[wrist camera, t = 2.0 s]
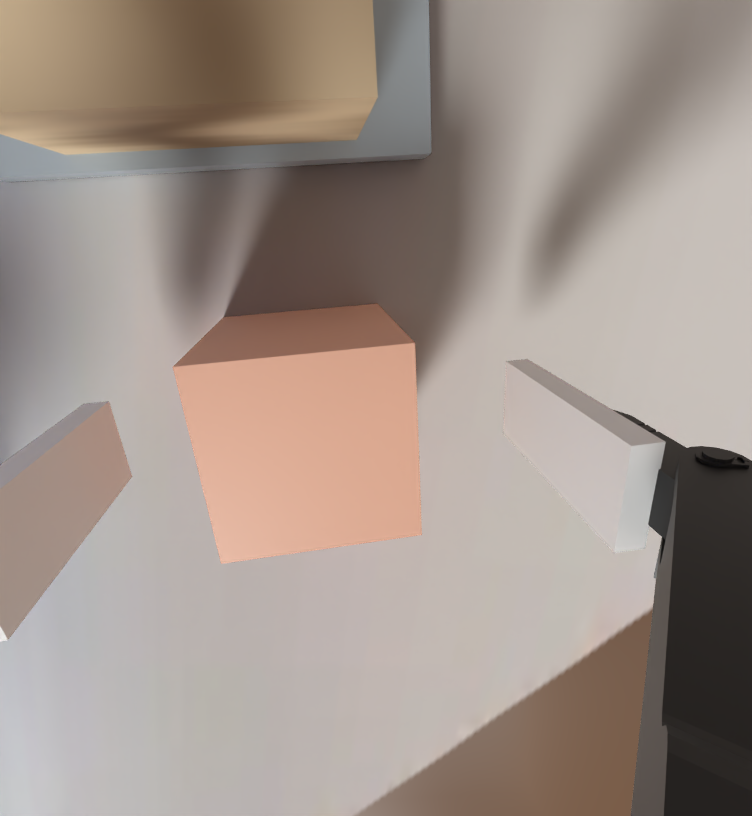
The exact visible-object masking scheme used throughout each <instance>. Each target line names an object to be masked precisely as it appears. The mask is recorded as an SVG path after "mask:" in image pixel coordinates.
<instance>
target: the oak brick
mask: <svg viewBox="0 0 752 816" xmlns="http://www.w3.org/2000/svg"><path fill="white" fill-rule="evenodd" d="M377 98H378V91H377V73H376V54H375V36H374V18H373V0H0V134H1V135H5V136H8V137H11V138H14V139H17V140H20V141H23V142H26V143H30V144H33V145H36V146H39V147H42V148H45V149H48V150H51V151H55V152H58V153H61V154H64V155H73V154H92V153H112V152H132V151H151V150H171V149H191V148H210V147H230V146H249V145H269V144H289V143H308V142H328V141H348V140H357V138H358V136H359V134H360V132H361V130H362V128H363V126H364V124H365V122H366V120H367V118H368V116H369V114H370V112H371V110H372V108H373V106H374V104H375V102H376V100H377Z"/></svg>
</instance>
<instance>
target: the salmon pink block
mask: <svg viewBox="0 0 752 816" xmlns="http://www.w3.org/2000/svg"><path fill="white" fill-rule="evenodd" d="M173 370H174V374H175V378H176V382H177V386H178V390H179V394H180V398H181V402H182V406H183V411H184V415H185V419H186V423H187V427H188V431H189V435H190V439H191V443H192V447H193V451H194V455H195V459H196V463H197V467H198V472H199V476H200V480H201V484H202V488H203V492H204V496H205V500H206V504H207V508H208V512H209V516H210V520H211V524H212V528H213V533H214V537H215V541H216V545H217V549H218V553H219V557H220V561H221V564H223V563H230V562H237V561H244V560H251V559H258V558H265V557H272V556H279V555H286V554H293V553H299V552H306V551H313V550H320V549H327V548H334V547H341V546H348V545H355V544H362V543H369V542H376V541H383V540H390V539H396V538H403V537H410V536H417V535H422V528H421V500H420V471H419V442H418V413H417V385H416V356H415V342H414V341H413V340H412V339H411V338H410V337H409V336H408V335H407V334H406V333H405V332H404V331H403V330H402V329H401V328H400V327H399V326H398V325H397V323H396V322H395V321H394V320H393V319H392V318H391V317H390V316H389V315H388V314H387V313H386V312H385V311H384V310H383V309H382V308H381V307H380V306H379V305H378V304H366V305H354V306H343V307H332V308H321V309H310V310H298V311H287V312H276V313H265V314H253V315H242V316H231V317H223V318H222V319H221V320H220V321H219V322H218V323H217V324H216V325H215V326H214V327H213V328H212V329H211V330H210V331H209V332H208V333H207V334H206V335H205V336H204V337H203V338H202V339H201V340H200V341H199V342H198V343H197V344H196V345H195V346H194V347H193V348H192V349H191V350H190V351H189V352H188V353H187V354H186V355H185V356H184V357H182V358H181V359H180V360H179V361H178V362H177V363H176V364H175V365H174V366H173Z"/></svg>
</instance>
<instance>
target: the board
mask: <svg viewBox="0 0 752 816" xmlns="http://www.w3.org/2000/svg"><path fill="white" fill-rule="evenodd" d="M373 18H374V36H375V54H376V73H377V91H378V98H377V100H376V102H375V104H374V106H373V108H372V110H371V112H370V114H369V116H368V118H367V120H366V122H365V124H364V126H363V128H362V130H361V132H360V134H359V136H358V138H357V140H348V141H328V142H308V143H289V144H269V145H249V146H230V147H210V148H191V149H171V150H151V151H132V152H112V153H92V154H73V155H64V154H61V153H58V152H55V151H51V150H48V149H45V148H42V147H39V146H36V145H33V144H30V143H26V142H23V141H20V140H17V139H14V138H11V137H8V136H5V135H1V134H0V181H5V182H19V181H37V180H54V179H72V178H90V177H108V176H126V175H144V174H161V173H179V172H197V171H215V170H233V169H251V168H268V167H286V166H304V165H322V164H340V163H358V162H375V161H393V160H411V159H424V158H425V157H427V156H428V155H430V154H431V153H432V152H431V95H430V38H429V0H373Z"/></svg>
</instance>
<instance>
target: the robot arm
mask: <svg viewBox="0 0 752 816" xmlns="http://www.w3.org/2000/svg"><path fill="white" fill-rule="evenodd" d="M503 434H504V435H505V436H506V437H507V438H508V440H509V441H510V442H511V443H512V444H513V445H514V446H515V447H516V448H517V449H518V450H519V451H520V452H521V454H522V455H523V456H524V457H525V458H526V459H527V460H528V461H529V462H530V463H531V464H532V465H533V466H534V468H535V469H536V470H537V471H538V472H539V473H540V474H541V475H542V476H543V477H544V478H545V479H546V480H547V482H548V483H549V484H550V485H551V486H552V487H553V488H554V489H555V490H556V491H557V492H558V493H559V494H560V496H561V497H562V498H563V499H564V500H565V501H566V502H567V503H568V504H569V505H570V506H571V507H572V508H573V510H574V511H575V512H576V513H577V514H578V515H579V516H580V517H581V518H582V519H583V520H584V521H585V522H586V524H587V525H588V526H589V527H590V528H591V529H592V530H593V531H594V532H595V533H596V534H597V535H598V537H599V538H600V539H601V540H602V541H603V542H604V543H605V544H606V545H607V546H608V547H609V548H610V549H611V551H612V552H613V553H618V552H625V551H632V550H639V549H645V546H646V541H647V536H648V531H649V526H650V527H652V528H653V529H654V530H655V531H656V532H657V533H658V534H659V535H661V536H662V540H661V545H660V549H659V554H658V559H657V564H656V569H655V573H654V578H656V585H655V595H654V604H653V613H652V623H651V632H650V641H649V651H648V660H647V670H646V679H645V688H644V697H643V707H642V716H641V725H640V734H639V744H638V753H637V762H636V772H635V781H634V790H633V800H632V809H631V816H752V461H751V460H749V459H747V458H746V457H744V456H742V455H740V454H737V453H734V452H732V451H728V450H724V449H720V448H714V447H704V446H698V447H689V448H686V447H684V446H682V445H681V444H679V443H677V442H676V441H674V440H672V439H670V438H669V437H667V436H665V435H664V434H662V433H660V432H656V430H655V429H653V428H651V427H650V426H648V425H645V423H643V422H641V421H639V420H638V419H636V418H634V417H633V416H631V415H628V414H624V413H621V412H618V411H615V410H612V409H610V408H608V407H607V406H605V405H603V404H602V403H600V402H598V401H597V400H595V399H593V398H592V397H590V396H588V395H587V394H585V393H583V392H582V391H580V390H578V389H577V388H575V387H573V386H572V385H570V384H568V383H567V382H565V381H563V380H562V379H560V378H558V377H557V376H555V375H553V374H552V373H550V372H548V371H547V370H545V369H543V368H541V367H540V366H538V365H536V364H535V363H533V362H531V361H530V360H528V359H524V360H514V361H506V376H505V399H504V422H503ZM131 477H132V475H131V471H130V468H129V465H128V462H127V458H126V455H125V452H124V449H123V446H122V442H121V439H120V436H119V433H118V429H117V426H116V423H115V420H114V416H113V413H112V410H111V407H110V403H109V401H107V402H97V403H87V404H83V405H81V406H80V407H79V408H77V409H76V410H75V411H73V412H72V413H70V414H69V415H68V416H66V417H65V418H64V419H62V420H61V421H60V422H58V423H57V424H55V425H54V426H53V427H51V428H50V429H49V430H47V431H46V432H45V433H43V434H42V435H40V436H39V437H38V438H36V439H35V440H34V441H32V442H31V443H29V444H28V445H27V446H25V447H24V448H23V449H21V450H20V451H19V452H17V453H16V454H14V455H13V456H12V457H10V458H9V459H8V460H6V461H5V462H4V463H2V464H1V465H0V641H6V640H8V639H9V638H10V637H11V635H12V634H13V633H14V632H15V630H16V629H17V628H18V626H19V625H20V624H21V622H22V621H23V620H24V618H25V617H26V616H27V614H28V613H29V612H30V610H31V609H32V608H33V606H34V605H35V604H36V603H37V601H38V600H39V599H40V597H41V596H42V595H43V593H44V592H45V591H46V589H47V588H48V587H49V585H50V584H51V583H52V581H53V580H54V579H55V577H56V576H57V575H58V574H59V572H60V571H61V570H62V568H63V567H64V566H65V564H66V563H67V562H68V560H69V559H70V558H71V556H72V555H73V554H74V552H75V551H76V550H77V549H78V547H79V546H80V545H81V543H82V542H83V541H84V539H85V538H86V537H87V535H88V534H89V533H90V531H91V530H92V529H93V527H94V526H95V525H96V523H97V522H98V521H99V520H100V518H101V517H102V516H103V514H104V513H105V512H106V510H107V509H108V508H109V506H110V505H111V504H112V502H113V501H114V500H115V498H116V497H117V496H118V494H119V493H120V492H121V491H122V489H123V488H124V487H125V485H126V484H127V483H128V481H129V480H130V479H131Z"/></svg>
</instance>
